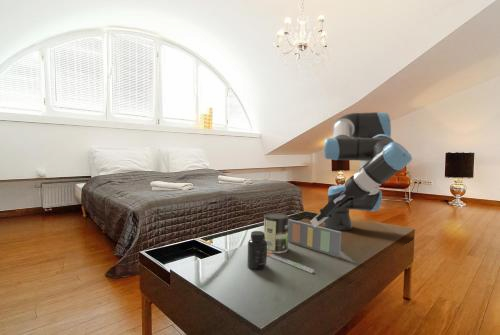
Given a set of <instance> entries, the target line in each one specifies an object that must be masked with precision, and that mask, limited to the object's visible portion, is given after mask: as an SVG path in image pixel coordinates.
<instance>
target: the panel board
mask: <svg viewBox="0 0 500 335" xmlns="http://www.w3.org/2000/svg"><path fill="white" fill-rule="evenodd" d="M288 242H289V243H291V244H294V245H298V246H300V247H304V248H307V249H311V250H313V251H316V252H320V253H322V254H325V255H329V256H332V257H334V258H338V259H339V258H341V248H342V231H341V230H335V229H330V228H327V227H324V226H319V225H318V226H317V227H314V226H313V225H312V223H307V222H303V221H299V220H294V219H290V218H289V220H288Z"/></svg>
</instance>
